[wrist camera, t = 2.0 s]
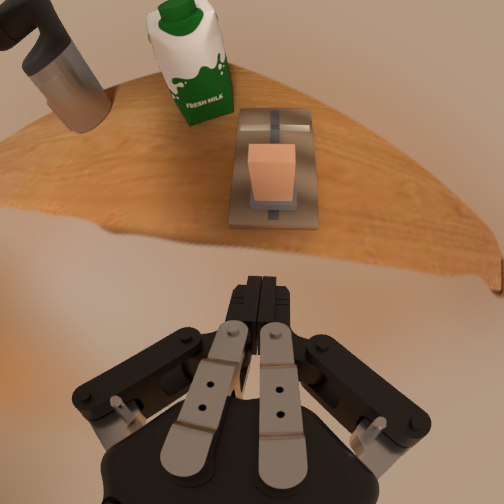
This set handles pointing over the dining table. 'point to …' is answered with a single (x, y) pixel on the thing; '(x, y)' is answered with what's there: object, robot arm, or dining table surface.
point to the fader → (272, 176)
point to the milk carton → (192, 58)
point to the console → (301, 134)
